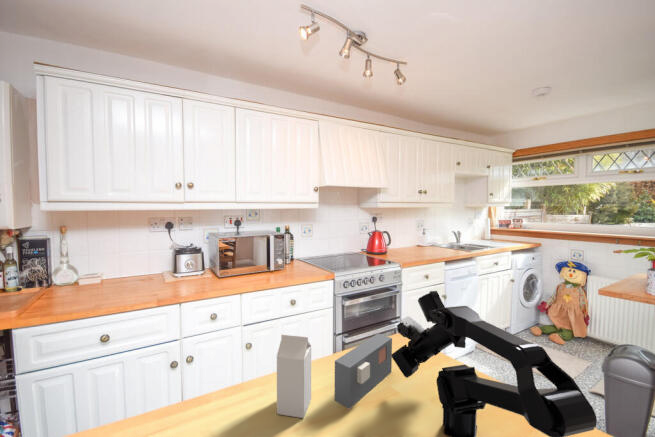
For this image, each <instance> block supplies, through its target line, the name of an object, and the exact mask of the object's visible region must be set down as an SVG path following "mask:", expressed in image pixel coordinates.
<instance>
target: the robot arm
mask: <svg viewBox="0 0 655 437" xmlns="http://www.w3.org/2000/svg"><path fill="white" fill-rule="evenodd" d="M417 302H418V305H419V307H420V309H421V311H422V313H423V316H424V318H425V320H426V322H427V323H430V322H431V323H432V324H434V325H432V326H431V327H427V328H426V329H425V328H424V327H422V325H421V324H419V322H417V321H416V320H414V318H412V317H411V316H405V317H404V318H402V319H401V320H400V322H399V323H398V324H397V325H396V327H397V328H396V330H397V332H398V334H399V335H401V336H402V337H403V338H407V339H408V340H409V341H408V342H407V344H406V343H405V344H404V345H403V346H401V347H400V348H398V349H396V350H395V351H394V352H392V361H394V363H395V364H396V366H397V367H398V369H399V370H400V372H401V374H402V375H403V377H405V378H406V379H407V378H410V377H411V376H413V375H414V374H415V373H416V372H417V371H418V370H419V367H420V365H421V364H424V363H426V362H427V361H428V360H430V358H432V357H434V356H437V355H439V354H440V353H441V352H442V351H443V350H445V349H446V348H449V347H450V346H451V345H453V346H454V347H455V348H460V349H466V339H470V340H472V341H473V342H475V343H477V344H479V345H480V346H482V347H484V348H486V349H487V350H489V351H491V352H492V353H494V354H496V355H498V356H499V357H501V358H502V359H504V360H506V361H508V362H510V364H511V366H512V367H513V369H514V372H515V377H516V384H517V385H512V384H510V383H505V382H500V381H496V380H492V379H487V378H483V377H479V375H478V374H477V373H476V368H475V366H468V365H467V364H460V365H458V364H457V365H453V366H447V367H446V366H445V367H441V369H442V370H439V371H438V372H437V377H436V387H437V393H438V399H439V403H440V404H441V406H442V407H441V408H442V412H443V413H442V426H444V429H443V434H444V435H445V436H448V437H477V432H478V426H477V410H484V409H485V407H486V405H489V406H494V407H495V408H498V409H501V410H505V411H508V412H511V413H513V414H516V415H519V416H522V417H524V419H525V421H526V422H527V423H528V424H529V426H531V427H532V428H533V429H535V430H537V431H538V432H541V433H542V434H544V435H545V436H548V437H570V436H574V435H575V436H576V435H578V434H582V433H583V434H584V433H587V432H591V431H594V430H595V429H596V426H597V422H598V421H597V420H598V419H597V416H596V412H595V409H594V408H593V405H591V403H590V402H589V400H588V399H587V398H586V396H585V394H584V393H583V392H582V390H581V388H580V387H579V386H578V383H576V381H575V380H574V378H573V377H572V376H571V375H569V374H568V373H567V372H566V371H565V370H564V369H562V368H561V367H560V366H559V365H558V364H556V363H555V362H554V361H553V360H552V359H551V357H550V355H549V354H548V353H547V351H546V350H545V349H544V347H543V346H542V345H540V344H539V343H534V342H532V341H531V342H530V341H528V340H525V339H523V338H521V337H520V336H517V335H515V334H513V333H511V332H509V331H507V330H504V329H502V328H500V327H497V326H496V325H494V324H491V323H489V322H487V321H485V320H484V319H482V318H481V317H480V315H479V312H477V311H475V310H473V309H472V308H471V307H469V306H468V305H459V306H457V305H456V306H448V307H446V306H445V304H444V303H443V301H442V299H441V297H440V294H439V292H438V291H437V290H431V291H429V292H428V293H426V294H424V295H422V296H420V297H419V298H417ZM533 369H536V370H537V371H538V372H539V373H540V374H541V375H543V376H544V377H545V378H546V379H547V380H548V381H549V382H550V383H551V384H553V385H554V386H555V387H551V388H539V389H538V388H537V387H536V385H535V384H536V383H535V377H534V371H533Z"/></svg>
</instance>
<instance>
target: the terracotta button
mask: <svg viewBox="0 0 655 437" xmlns="http://www.w3.org/2000/svg"><path fill="white" fill-rule="evenodd" d="M384 360H386V347H384V348H383V349H381V350H380V351H379V364H381V363H382V362H383V361H384Z"/></svg>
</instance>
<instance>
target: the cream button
mask: <svg viewBox="0 0 655 437" xmlns="http://www.w3.org/2000/svg"><path fill="white" fill-rule="evenodd" d="M369 378H370V363H368V362H366V361H365V362H363V363H362V364H361V365H359V366H358V367H357V382H358V383H360V384H363V383H364V382H365V381H366V380H368V379H369Z"/></svg>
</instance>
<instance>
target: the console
mask: <svg viewBox="0 0 655 437" xmlns="http://www.w3.org/2000/svg"><path fill="white" fill-rule="evenodd" d="M384 347H386V360H384V361H383V362H382V363H381V364H379V351H380V350H381V349H383V348H384ZM392 354H393V337H391V336H386V335H384V334H381V333H379V332H378V333H376V334H375V335H374V336H373V335H372V336H371V337H370V338H368V339H367V340H365V341H364V342H362V343H361V344H359V345H357V346H355V348H352V349H351V350H349V351H348V352H347V353H345V354H343V355H342V356H340V357H338V358H337V359H335V360H334V401H335V402H337V403H338V404H340V405H342V406H344V408H346V409H348V410H350V409H351V408H352V407H354V406H355V405H356V404H357V403H359V401H361V400H362V399H363V398H364V397H365V396H366V395H367V394H369V392H371V391H372V390H374V388H376V386H377V385H379V384H380V383H381V382H382V381H383V380H384V379H385V378H387V377H388V376H389V375H391V374H392V366H393V365H392V364H393V363H392V362H393V358H392ZM365 361H366V362H368V363H370V378H369V379H368V380H366V381H365V382H364V383H363V384H360V383H358V382H357V367H358V366H359V365H361V364H362V363H363V362H365Z"/></svg>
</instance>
